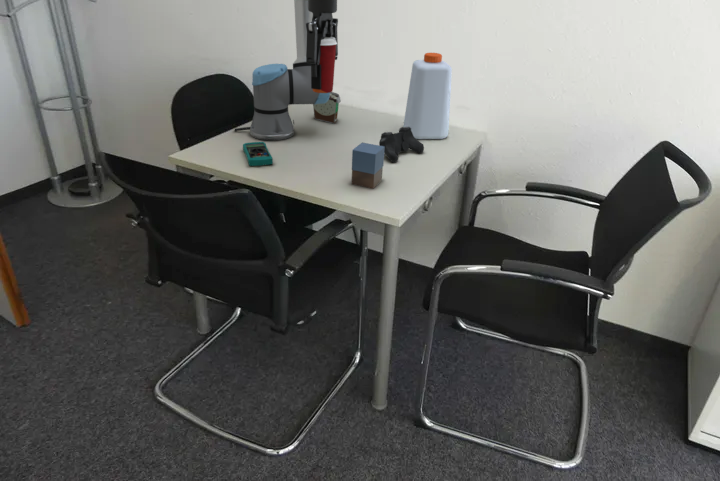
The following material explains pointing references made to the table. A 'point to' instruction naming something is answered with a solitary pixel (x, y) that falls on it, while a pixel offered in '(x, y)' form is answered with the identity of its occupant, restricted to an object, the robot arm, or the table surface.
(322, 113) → the food container
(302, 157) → the table surface
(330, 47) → the paper cup
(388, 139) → the game controller
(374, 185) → the walnut block
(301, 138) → the table surface
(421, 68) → the plastic bottle
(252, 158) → the digital multimeter
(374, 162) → the slate block
